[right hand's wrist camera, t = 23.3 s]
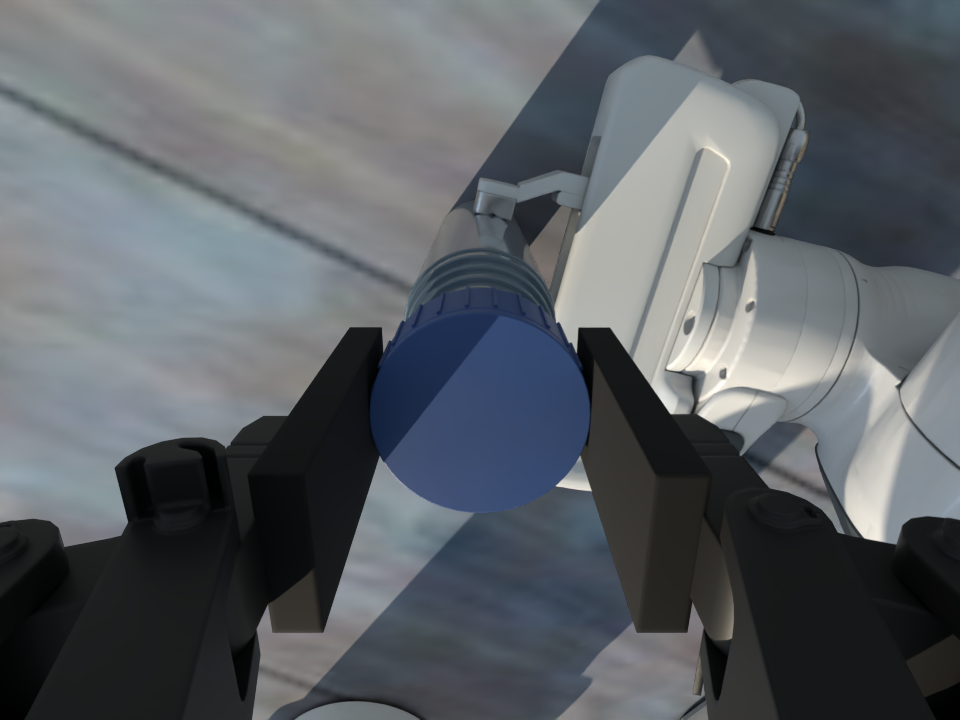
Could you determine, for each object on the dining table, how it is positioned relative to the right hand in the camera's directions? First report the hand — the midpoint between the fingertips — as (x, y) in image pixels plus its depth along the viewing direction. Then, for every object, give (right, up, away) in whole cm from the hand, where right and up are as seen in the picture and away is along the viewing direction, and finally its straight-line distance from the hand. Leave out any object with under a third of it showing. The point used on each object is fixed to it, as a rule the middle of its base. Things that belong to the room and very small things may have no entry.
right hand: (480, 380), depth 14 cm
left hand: (-1, +5, +13) cm, 14 cm away
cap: (0, -1, -2) cm, 2 cm away
